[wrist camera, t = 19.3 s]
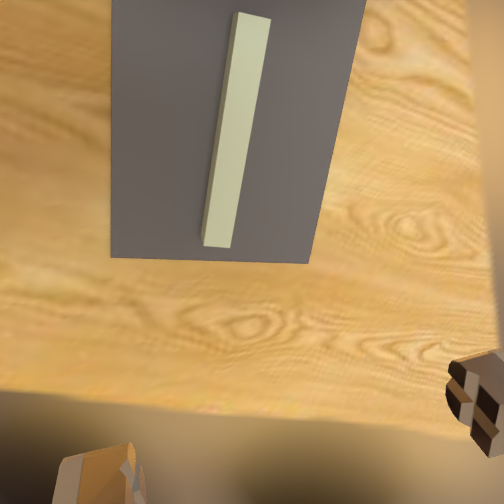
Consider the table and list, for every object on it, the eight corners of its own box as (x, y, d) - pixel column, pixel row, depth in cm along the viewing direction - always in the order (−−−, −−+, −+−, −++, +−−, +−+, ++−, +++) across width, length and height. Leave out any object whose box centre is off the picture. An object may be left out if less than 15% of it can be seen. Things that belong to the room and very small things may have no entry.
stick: (200, 234, 50) (203, 245, 48) (233, 13, 41) (238, 11, 38) (225, 237, 51) (230, 247, 48) (263, 20, 42) (271, 19, 39)
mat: (111, 256, 50) (110, 257, 49) (112, -58, 37) (112, -59, 37) (307, 262, 56) (308, 263, 55) (366, -6, 43) (367, -7, 43)
